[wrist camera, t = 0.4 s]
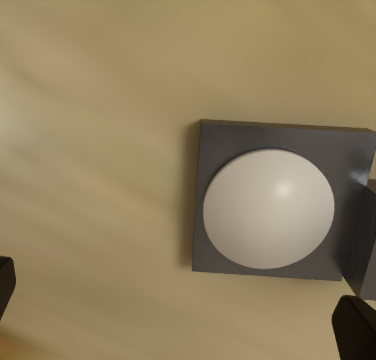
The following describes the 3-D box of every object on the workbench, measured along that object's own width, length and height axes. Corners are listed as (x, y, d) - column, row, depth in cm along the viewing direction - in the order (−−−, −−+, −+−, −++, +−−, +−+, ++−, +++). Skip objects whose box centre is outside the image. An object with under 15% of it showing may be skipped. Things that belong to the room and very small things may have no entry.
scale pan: (316, 266, 23) (320, 272, 22) (199, 258, 23) (199, 264, 22) (342, 152, 20) (347, 156, 19) (207, 144, 20) (207, 147, 19)
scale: (354, 270, 25) (381, 307, 21) (192, 259, 25) (190, 294, 21) (393, 130, 21) (435, 145, 17) (201, 119, 21) (201, 131, 18)
